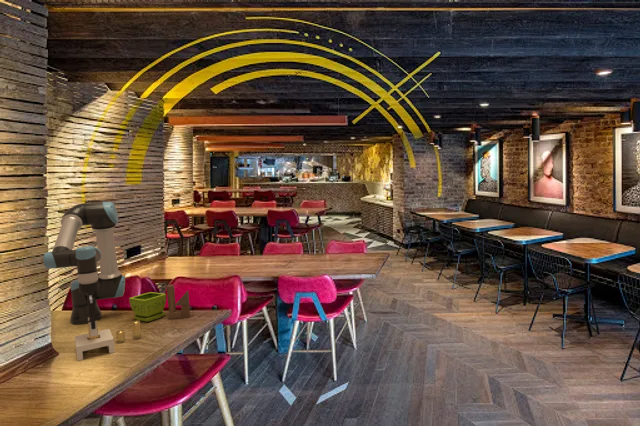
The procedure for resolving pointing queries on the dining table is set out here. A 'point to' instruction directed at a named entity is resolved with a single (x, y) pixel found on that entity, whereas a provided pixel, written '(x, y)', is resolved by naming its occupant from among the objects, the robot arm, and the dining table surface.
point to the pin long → (93, 338)
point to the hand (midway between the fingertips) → (93, 333)
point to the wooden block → (177, 304)
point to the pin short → (120, 336)
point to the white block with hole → (94, 342)
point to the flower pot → (145, 311)
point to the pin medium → (136, 329)
